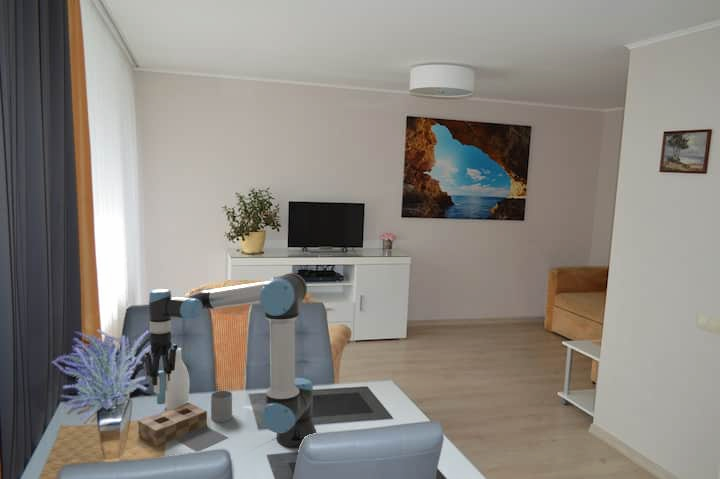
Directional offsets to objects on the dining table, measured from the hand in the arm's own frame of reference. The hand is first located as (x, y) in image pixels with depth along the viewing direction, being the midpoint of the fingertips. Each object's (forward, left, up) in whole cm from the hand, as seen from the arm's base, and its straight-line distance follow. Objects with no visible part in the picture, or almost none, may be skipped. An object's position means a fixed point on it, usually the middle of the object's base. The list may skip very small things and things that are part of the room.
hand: (161, 391), depth 203 cm
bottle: (+18, -18, -18) cm, 31 cm away
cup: (-5, -24, -18) cm, 30 cm away
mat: (-14, -8, -17) cm, 24 cm away
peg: (0, 0, -5) cm, 5 cm away
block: (0, -5, -17) cm, 18 cm away
